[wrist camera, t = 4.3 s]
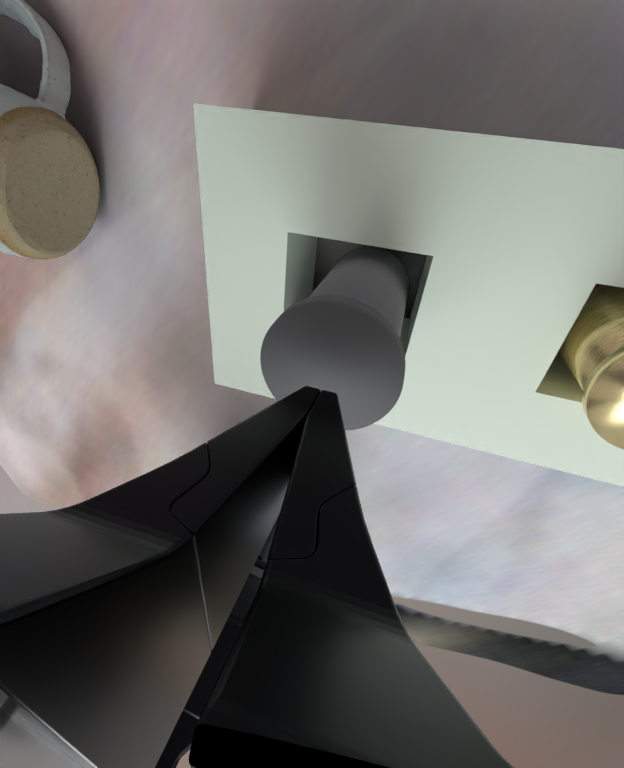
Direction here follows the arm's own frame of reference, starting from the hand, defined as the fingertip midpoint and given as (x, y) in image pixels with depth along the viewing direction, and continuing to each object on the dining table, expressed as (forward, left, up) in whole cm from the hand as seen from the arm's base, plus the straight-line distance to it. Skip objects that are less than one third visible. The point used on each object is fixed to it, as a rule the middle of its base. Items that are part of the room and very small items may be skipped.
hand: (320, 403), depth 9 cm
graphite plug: (0, 0, -9) cm, 9 cm away
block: (0, -5, -12) cm, 13 cm away
